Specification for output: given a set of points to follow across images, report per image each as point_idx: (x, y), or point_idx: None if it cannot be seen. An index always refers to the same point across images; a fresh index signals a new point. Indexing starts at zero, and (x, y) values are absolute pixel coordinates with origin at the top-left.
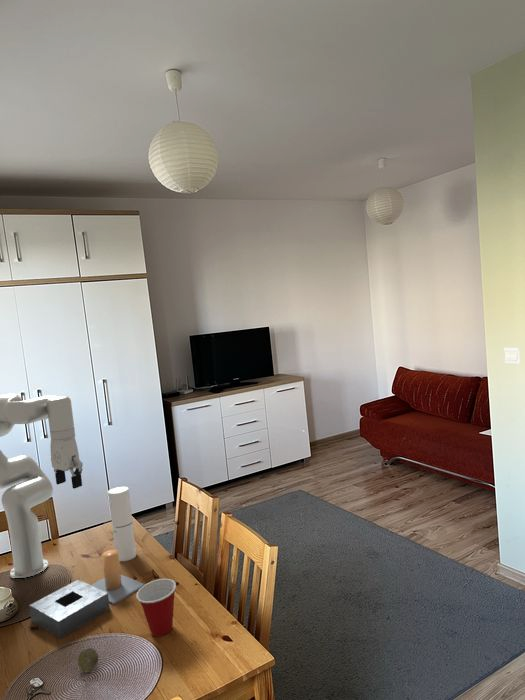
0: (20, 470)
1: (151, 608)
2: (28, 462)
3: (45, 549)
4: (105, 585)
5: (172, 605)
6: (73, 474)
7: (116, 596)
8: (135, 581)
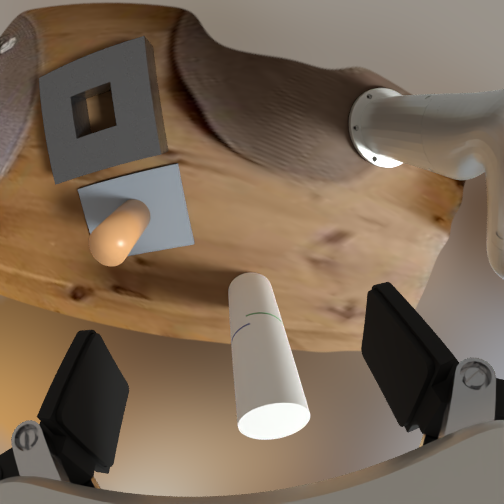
0: None
1: None
2: None
3: (436, 196)
4: (135, 201)
5: None
6: (22, 441)
7: (93, 203)
8: None
